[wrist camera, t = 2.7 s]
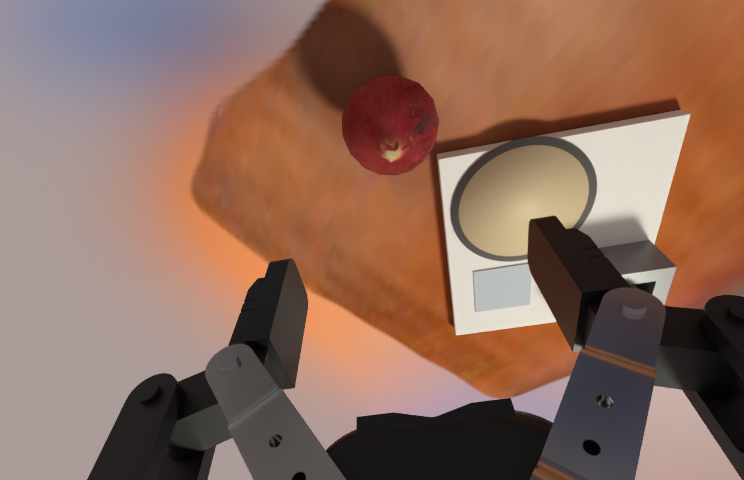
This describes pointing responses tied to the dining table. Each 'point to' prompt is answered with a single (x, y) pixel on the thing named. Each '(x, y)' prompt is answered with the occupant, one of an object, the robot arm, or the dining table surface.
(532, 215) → the picture board
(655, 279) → the button housing
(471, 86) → the dining table surface
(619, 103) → the dining table surface
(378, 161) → the onion
